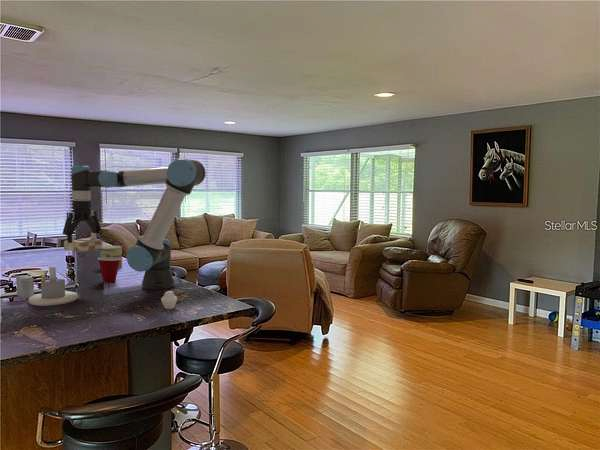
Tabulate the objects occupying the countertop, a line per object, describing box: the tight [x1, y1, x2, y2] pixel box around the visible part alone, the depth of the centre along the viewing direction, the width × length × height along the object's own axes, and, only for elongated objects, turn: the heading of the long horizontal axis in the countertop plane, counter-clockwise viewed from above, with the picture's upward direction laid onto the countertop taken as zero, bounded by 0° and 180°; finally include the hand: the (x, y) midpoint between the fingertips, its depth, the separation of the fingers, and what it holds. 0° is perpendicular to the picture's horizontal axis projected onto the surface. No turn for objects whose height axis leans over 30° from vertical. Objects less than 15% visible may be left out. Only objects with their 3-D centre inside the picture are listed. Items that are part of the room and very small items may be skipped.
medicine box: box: [16, 274, 35, 300], centre depth 191 cm, size 8×4×9 cm, turn 47°
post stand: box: [27, 265, 78, 307], centre depth 186 cm, size 18×18×14 cm
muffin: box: [160, 290, 178, 310], centre depth 178 cm, size 6×6×7 cm
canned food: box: [100, 245, 123, 270], centre depth 258 cm, size 11×11×12 cm
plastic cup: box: [97, 257, 121, 284], centre depth 222 cm, size 11×11×12 cm
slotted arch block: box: [63, 237, 103, 252], centre depth 203 cm, size 11×11×4 cm
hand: (83, 248), depth 203 cm, fingers closed on slotted arch block, 11 cm apart
